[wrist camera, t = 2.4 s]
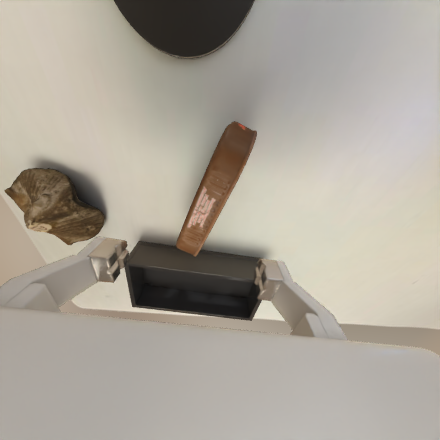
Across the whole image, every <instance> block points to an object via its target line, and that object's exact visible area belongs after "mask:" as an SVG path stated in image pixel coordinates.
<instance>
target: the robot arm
mask: <svg viewBox="0 0 440 440" xmlns="http://www.w3.org/2000/svg"><path fill="white" fill-rule="evenodd" d="M126 247H127V241H125V240H119V239H112V238H105V237H96V238H95V239H94V240H93V241H91V242H90V243H89V244H88V245H87V246H86V247H85V248H84V249H83V250H81V251H80V252H79V253H78V254H77V255H72V256H69V257H66V258H64V259H61V260H59V261H56V262H53V263H51V264H48V265H46V266H43V267H40V268H38V269H35V270H33V271H30V272H28V273H25V274H22V275H20V276H17V277H15V278H12V279H10V280H9V281H7V282H6V283H4V284H3V285H2V286H0V440H440V356H439V355H437V354H435V353H434V352H432V351H430V350H427V349H424V348H418V347H409V346H398V345H389V344H379V343H368V342H358V341H348V339H347V338H346V336H345V334H344V333H343V331H342V329H341V328H340V326H339V324H338V322H337V320H336V319H335V317H334V315H333V314H331V313H330V312H329V311H328V310H327V309H326V308H325V307H323V306H322V305H321V304H320V303H319V302H318V301H317V300H315V299H314V298H313V297H312V296H311V295H310V294H308V293H307V292H306V291H305V290H304V289H303V288H302V287H300V286H299V285H298V284H297V283H295V282H293V280H292V278H291V276H290V273H289V271H288V269H287V267H286V265H285V263H284V262H283V261H277V260H268V259H259V260H258V262H257V264H258V267H256V268H255V270H254V283H255V284H256V285H257V287H256V293H257V298H258V299H261V300H268V301H271V302H272V303H273V305H274V306H275V307H276V309H277V310H278V311H279V313H280V314H281V315H282V317H283V318H284V319H285V321H286V322H287V323H288V325H289V326H290V327H291V329H292V330H293V331H292V332H291V334H290V335H287V334H276V333H267V332H257V331H246V330H236V329H226V328H216V327H206V326H196V325H185V324H175V323H165V322H155V321H145V320H134V319H125V318H115V317H105V316H95V315H84V314H73V313H64V312H61V311H60V310H59V307H60V306H62V305H63V304H65V303H66V302H68V301H69V300H71V299H72V298H74V297H75V296H77V295H78V294H80V293H82V292H83V291H85V290H86V289H88V288H89V287H91V286H92V285H94V284H95V283H97V281H102V282H113V283H114V281H115V280H116V278H117V277H118V275H119V274H120V269H122V268H124V267H125V265H126V264H127V261H128V258H129V253H128V251H127V250H126V249H125V248H126Z"/></svg>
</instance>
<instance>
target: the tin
mask: <svg viewBox="0 0 440 440" xmlns="http://www.w3.org/2000/svg"><path fill="white" fill-rule="evenodd" d="M256 136H257V132H256V131H252V130H250V129H249V128H247V127H245V126H243V125H241V124H240V123H238V122H235V121H234V122H232V123H231V124H229V125H228V126H227V128H226V129H225V131H224V133H223V135H222V136H221V139H220V141H219V143H218V145H217V147H216V149H215V151H214V154H213V156H212V158H211V160H210V163H209V165H208V167H207V169H206V172H205V174H204V176H203V179H202V181H201V183H200V186H199V188H198V190H197V193H196V195H195V197H194V200H193V202H192V205H191V207H190V209H189V212H188V214H187V217H186V219H185V222H184V224H183V227H182V229H181V232H180V234H179V237H178V240H177V243H176V247H177V248H178V249H180V250H183V251H185V252H187V253H190V254H192V255H193V256H197V254H198V253H199V251H200V250H201V248H202V246H203V244H204V242H205V240H206V239H207V237H208V235H209V233H210V231H211V229H212V227H213V225H214V224H215V222H216V220H217V218H218V216H219V214H220V212H221V210H222V209H223V207H224V205H225V203H226V201H227V199H228V197H229V196H230V194H231V192H232V190H233V188H234V186H235V185H236V183H237V181H238V179H239V177H240V175H241V173H242V171H243V168H244V166H245V165H246V162H247V160H248V157H249V155H250V153H251V150H252V148H253V145H254V143H255V140H256Z"/></svg>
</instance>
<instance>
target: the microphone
mask: <svg viewBox="0 0 440 440" xmlns="http://www.w3.org/2000/svg"><path fill="white" fill-rule="evenodd" d="M114 1H115V3H116V5H117V6H118V8H119V10H120V11H121V13H122V14H123V15H124V17H125V18H126V20H127V21H128V22H129V23H130V25H131V26H132V27H133V28H134V29H135V30H136V31H137V32H138V33H139V34H140V35H141V36H142V37H143V38H144V39H145V40H146V41H147V42H148V43H150V44H151V45H152V46H154V47H155V48H157V49H158V50H160V51H162V52H164V53H166V54H168V55H171V56H174V57H178V58H199V57H202V56H206V55H208V54H210V53H212V52H214V51H216V50H218V49H219V48H220V47H222V46H223V45H224V44H225V43H227V42H228V41H229V40H230V39H231V38H232V37H233V35H234V34H235V33H236V32H237V30H238V29H239V28H240V26H241V25H242V23H243V22H244V20H245V18H246V17H247V15H248V13H249V11H250V9H251V7H252V5H253V2H254V0H114Z"/></svg>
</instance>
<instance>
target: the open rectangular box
mask: <svg viewBox="0 0 440 440" xmlns="http://www.w3.org/2000/svg"><path fill="white" fill-rule="evenodd" d="M259 259H261V258H254V257H247V256H240V255H233V254H226V253H219V252H212V251H205V250H200V251H199V253H198V254H197V256H193V255H192V254H190V253H187V252H185V251H183V250H180V249H178V248H177V247H176V246H170V245H163V244H156V243H149V242H142V241H139V242H138V243H137V245H136V246H135V247H134V249H133V250H132V252H131V253H130V254H129V258H128V261H127V264H126V265H125V272H126V277H127V282H128V287H129V292H130V298H131V303H132V307H139V308H147V309H156V310H164V311H173V312H181V313H190V314H198V315H207V316H216V317H224V318H233V319H241V320H250V321H252V319H253V317H254V315H255V313H256V311H257V309H258V307H259V305H260V303H261V301H262V300H261V299H258V298H257V293H256V287H257V285H256V284H255V283H254V270H255V268H256V267H258V264H257V262H258V260H259Z"/></svg>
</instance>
